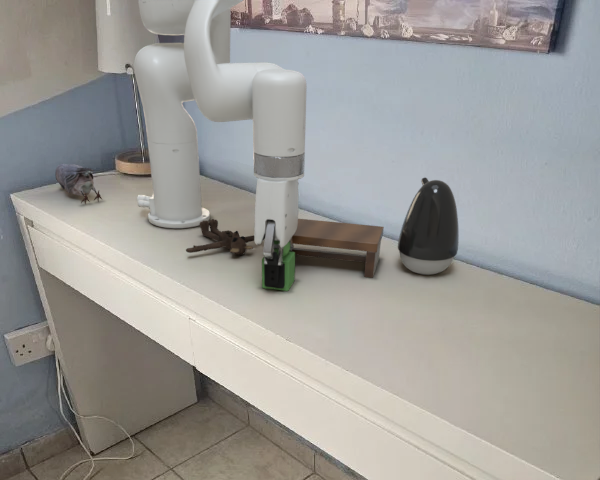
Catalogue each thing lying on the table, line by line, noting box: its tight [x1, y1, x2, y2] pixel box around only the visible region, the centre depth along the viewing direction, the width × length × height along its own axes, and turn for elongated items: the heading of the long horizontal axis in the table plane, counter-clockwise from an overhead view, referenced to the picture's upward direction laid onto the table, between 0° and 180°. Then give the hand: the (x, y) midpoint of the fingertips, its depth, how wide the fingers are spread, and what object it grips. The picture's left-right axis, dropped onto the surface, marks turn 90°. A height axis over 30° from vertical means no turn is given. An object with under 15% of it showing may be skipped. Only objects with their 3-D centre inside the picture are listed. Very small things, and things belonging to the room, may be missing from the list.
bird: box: [55, 163, 103, 205], centre depth 137 cm, size 5×16×7 cm, turn 43°
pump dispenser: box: [397, 177, 460, 276], centre depth 104 cm, size 10×10×15 cm
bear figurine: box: [185, 218, 254, 256], centre depth 114 cm, size 18×4×14 cm
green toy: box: [261, 241, 296, 292], centre depth 99 cm, size 4×4×8 cm
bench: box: [289, 218, 384, 279], centre depth 108 cm, size 18×9×6 cm, turn 77°
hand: (278, 279), depth 101 cm, fingers closed on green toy, 4 cm apart
